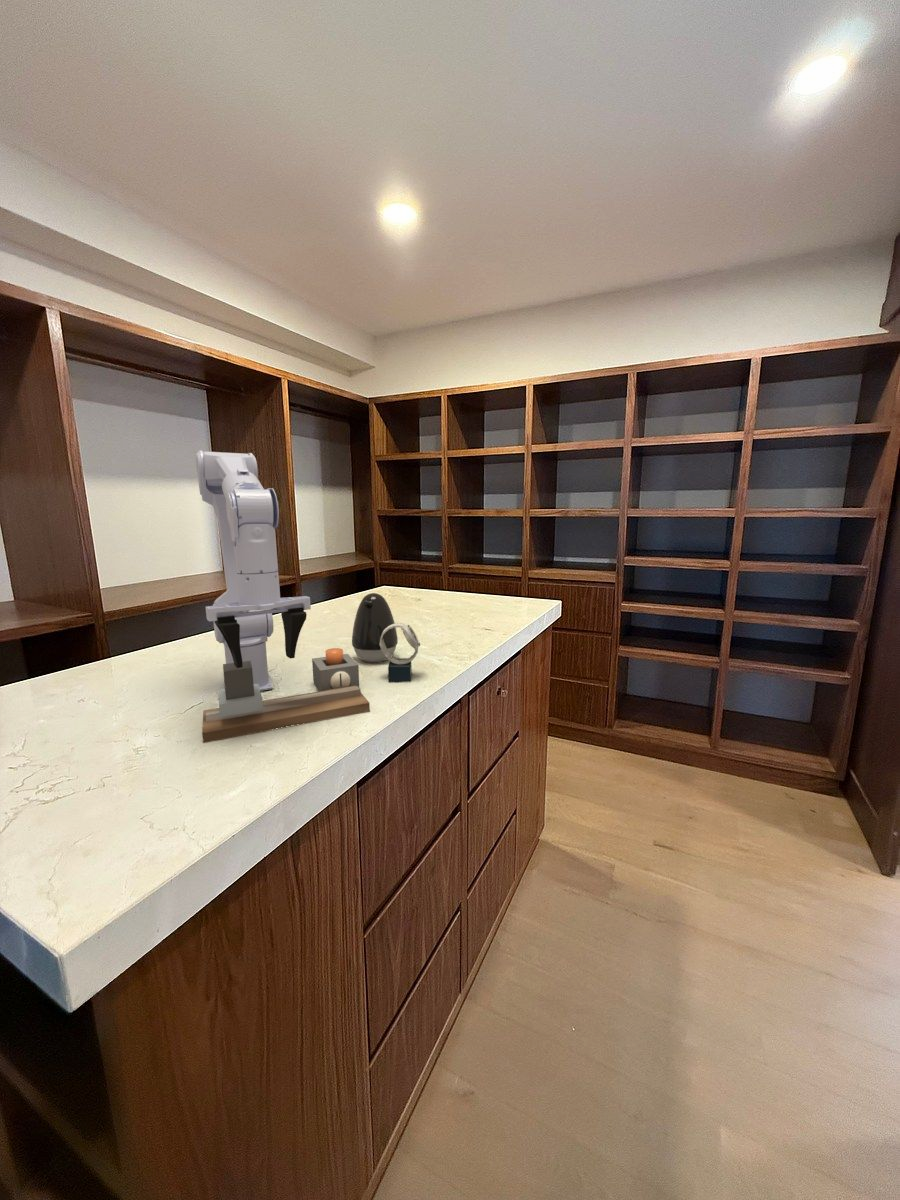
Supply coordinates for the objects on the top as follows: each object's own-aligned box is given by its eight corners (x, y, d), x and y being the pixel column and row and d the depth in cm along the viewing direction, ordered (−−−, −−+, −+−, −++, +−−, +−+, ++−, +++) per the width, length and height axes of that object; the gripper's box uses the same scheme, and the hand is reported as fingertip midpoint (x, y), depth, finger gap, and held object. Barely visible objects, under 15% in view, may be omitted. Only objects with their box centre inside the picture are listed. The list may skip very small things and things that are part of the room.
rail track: (204, 719, 78) (202, 703, 77) (355, 693, 89) (355, 679, 88) (203, 742, 70) (201, 725, 69) (369, 711, 81) (369, 695, 80)
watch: (420, 681, 95) (419, 627, 93) (379, 682, 94) (377, 628, 92) (421, 672, 100) (420, 620, 98) (382, 673, 100) (380, 621, 98)
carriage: (219, 701, 78) (215, 662, 76) (259, 694, 80) (256, 657, 79) (220, 717, 71) (216, 675, 70) (263, 710, 74) (260, 669, 73)
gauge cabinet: (313, 683, 94) (312, 658, 93) (348, 677, 97) (347, 653, 96) (322, 697, 87) (320, 671, 86) (360, 691, 90) (359, 665, 89)
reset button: (324, 661, 92) (323, 649, 91) (341, 659, 93) (340, 647, 93) (328, 666, 89) (327, 653, 89) (345, 663, 90) (344, 651, 90)
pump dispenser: (345, 665, 105) (342, 596, 102) (361, 651, 115) (359, 589, 112) (390, 667, 103) (388, 597, 100) (403, 653, 113) (401, 589, 110)
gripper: (208, 578, 63) (218, 677, 65) (315, 570, 72) (321, 658, 74) (199, 574, 69) (209, 666, 71) (299, 567, 77) (305, 649, 80)
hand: (265, 661), depth 73 cm, fingers open, 7 cm apart
